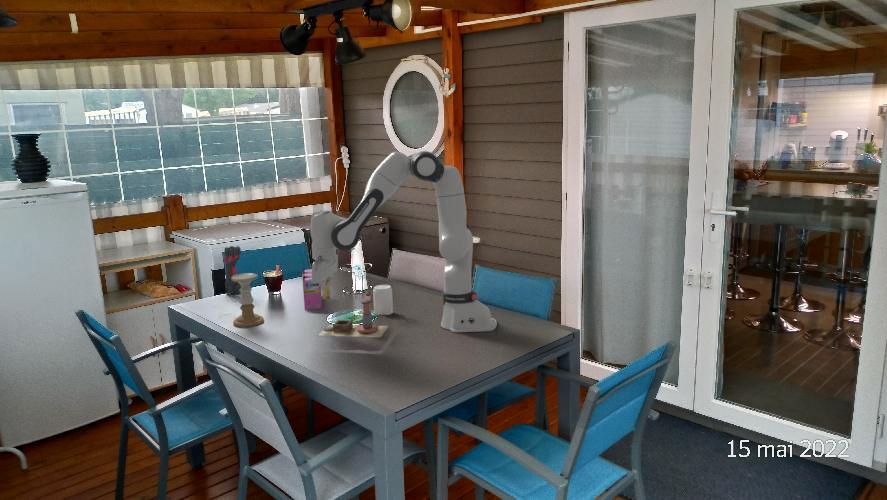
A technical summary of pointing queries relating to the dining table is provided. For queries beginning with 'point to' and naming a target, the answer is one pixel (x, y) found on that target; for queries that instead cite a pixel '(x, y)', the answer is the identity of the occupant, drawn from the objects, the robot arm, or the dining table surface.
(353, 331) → the board
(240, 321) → the candle holder
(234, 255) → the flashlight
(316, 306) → the gum box
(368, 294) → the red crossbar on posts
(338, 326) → the brown box
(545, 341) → the dining table surface
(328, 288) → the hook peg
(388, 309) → the white tapered cylinder
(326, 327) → the slate pad
